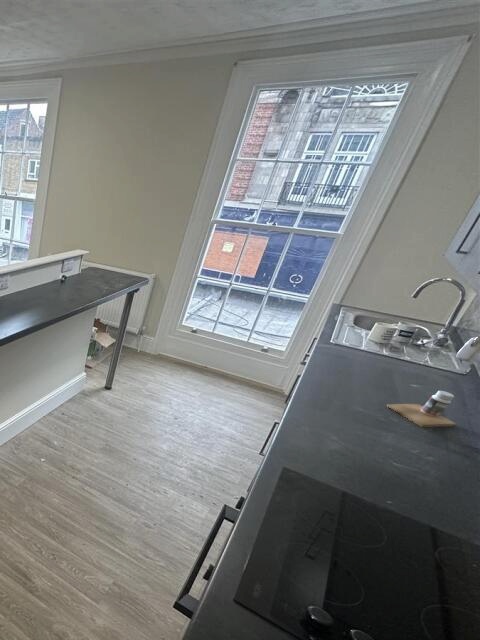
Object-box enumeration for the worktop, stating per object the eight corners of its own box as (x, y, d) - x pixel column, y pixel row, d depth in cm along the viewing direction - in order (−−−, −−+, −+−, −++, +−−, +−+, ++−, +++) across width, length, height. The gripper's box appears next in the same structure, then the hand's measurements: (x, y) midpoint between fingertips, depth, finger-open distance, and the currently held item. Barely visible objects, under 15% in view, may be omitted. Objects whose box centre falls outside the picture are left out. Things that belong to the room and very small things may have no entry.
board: (454, 425, 137) (456, 423, 137) (421, 427, 135) (423, 424, 134) (416, 405, 147) (418, 403, 147) (385, 406, 145) (387, 404, 144)
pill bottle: (418, 407, 144) (434, 388, 140) (435, 412, 142) (452, 392, 138) (423, 414, 140) (439, 394, 136) (440, 418, 139) (458, 398, 134)
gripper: (492, 338, 121) (460, 377, 128) (542, 337, 124) (508, 375, 131) (467, 329, 126) (437, 367, 133) (516, 329, 129) (484, 366, 137)
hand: (473, 371), depth 132 cm, fingers open, 8 cm apart
